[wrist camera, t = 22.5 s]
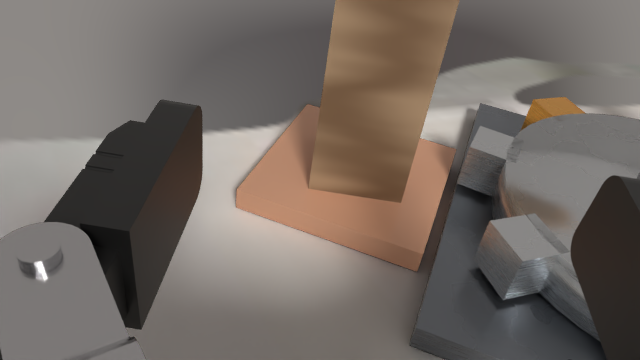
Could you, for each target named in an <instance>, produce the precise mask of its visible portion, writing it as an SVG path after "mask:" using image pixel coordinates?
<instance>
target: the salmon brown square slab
mask: <svg viewBox="0 0 640 360" xmlns="http://www.w3.org/2000/svg"><path fill="white" fill-rule="evenodd" d="M319 112H320V108H319V107H316V106H313V105H310V104H307V105H306V106H305V107H304V109H303V110H302V111H301V112H300V114H299V115H298V116H297V117H296V118H295V120H294V121H293V122H292V123H291V124H290V126H289V127H288V128H287V129H286V130H285V132H284V133H283V134H282V135H281V136H280V138H279V139H278V140H277V141H276V142H275V144H274V145H273V146H272V147H271V148H270V150H269V151H268V152H267V153H266V154H265V156H264V157H263V158H262V159H261V161H260V162H259V163H258V164H257V165H256V167H255V168H254V169H253V170H252V171H251V173H250V174H249V175H248V176H247V177H246V179H245V180H244V181H243V182H242V183H241V185H240V186H239V187H238V188H237V194H236V207H237V208H240V209H243V210H245V211H248V212H251V213H254V214H257V215H259V216H262V217H265V218H268V219H271V220H273V221H276V222H279V223H282V224H285V225H287V226H290V227H293V228H296V229H298V230H301V231H304V232H307V233H310V234H312V235H315V236H318V237H321V238H324V239H326V240H329V241H332V242H335V243H338V244H340V245H343V246H346V247H349V248H352V249H354V250H357V251H360V252H363V253H366V254H368V255H371V256H374V257H377V258H380V259H382V260H385V261H388V262H391V263H394V264H396V265H399V266H402V267H405V268H408V269H410V270H413V271H416V272H417V271H418V268H419V265H420V262H421V259H422V256H423V253H424V250H425V247H426V244H427V241H428V238H429V234H430V231H431V228H432V225H433V222H434V219H435V216H436V212H437V209H438V206H439V203H440V200H441V197H442V193H443V190H444V187H445V184H446V181H447V178H448V174H449V171H450V168H451V165H452V162H453V159H454V156H455V152H456V149H454V148H450V147H447V146H444V145H441V144H437V143H434V142H431V141H427V140H424V139H421V138H420V139H419V142H418V146H417V149H416V153H415V156H414V160H413V163H412V167H411V170H410V174H409V177H408V181H407V184H406V188H405V191H404V195H403V198H402V201H401V203H397V202H391V201H384V200H378V199H372V198H365V197H359V196H352V195H346V194H339V193H333V192H327V191H320V190H314V189H308V188H309V181H310V174H311V167H312V160H313V153H314V146H315V139H316V132H317V126H318V119H319Z"/></svg>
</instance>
